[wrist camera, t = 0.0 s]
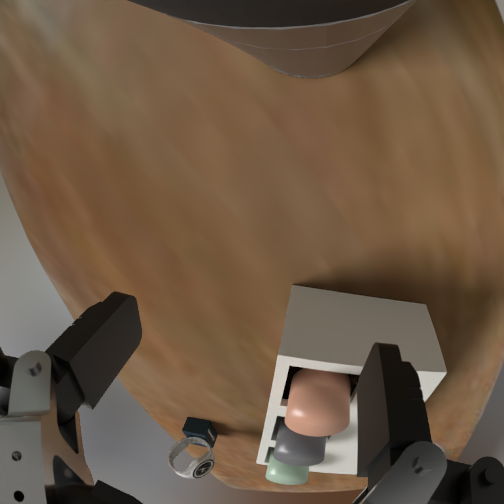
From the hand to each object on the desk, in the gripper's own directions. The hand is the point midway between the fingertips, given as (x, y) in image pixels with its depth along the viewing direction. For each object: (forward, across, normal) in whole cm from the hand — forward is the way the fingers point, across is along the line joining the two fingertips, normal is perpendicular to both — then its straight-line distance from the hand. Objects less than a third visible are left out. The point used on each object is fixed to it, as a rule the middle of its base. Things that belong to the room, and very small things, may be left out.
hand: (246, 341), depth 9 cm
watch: (+20, +10, +43) cm, 49 cm away
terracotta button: (+10, -5, +13) cm, 17 cm away
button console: (+19, -8, +20) cm, 29 cm away
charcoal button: (+11, -5, +21) cm, 24 cm away
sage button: (+11, -5, +29) cm, 31 cm away
